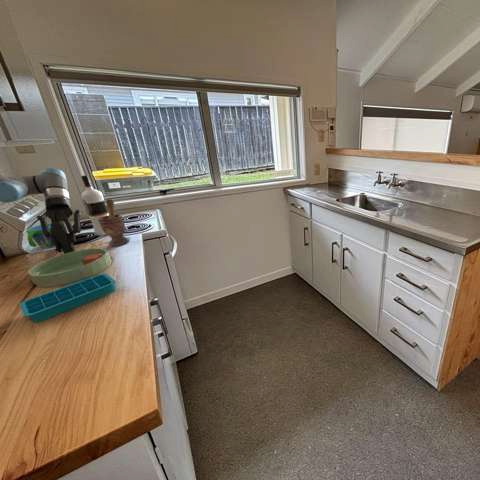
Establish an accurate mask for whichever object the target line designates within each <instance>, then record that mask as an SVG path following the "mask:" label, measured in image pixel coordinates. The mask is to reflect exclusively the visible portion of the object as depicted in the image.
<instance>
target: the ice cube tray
mask: <svg viewBox="0 0 480 480" xmlns="http://www.w3.org/2000/svg"><path fill="white" fill-rule="evenodd" d="M116 282H117V281H116V280H115V279H114V278H112V276H110V275H109V274H108V273H107V272H103V273H98V274H95V275H93V276H90V277H88V278H85V279H82V280H79V281H76V282H73V283H69V284H67V285H64V286H62V287H60V288H56V289H54V290H51V291H48V292H45V293H42V294H39V295H36V296H34V297H31V298H28V299H25V300H23V301H21V302H20V303H19V306H20V309H21V311H22V312H21V313H22V315H23V317H24V318H30V319H31V321H32V322H33V323H39V322H42V321H45V320H48V319H50V318H52V317H54V316H58V315H59V314H62V313H65V312H67V311H69V310H72V309H74V308H77V307H79V306H81V305H84V304H87V303H89V302H92V301H94V300H97V299H100V298H102V297H104V296H106V295H109V294H112V293H114V292H115V286H114V285H115V284H116Z"/></svg>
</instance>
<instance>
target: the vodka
mask: <svg viewBox="0 0 480 480" xmlns="http://www.w3.org/2000/svg"><path fill="white" fill-rule="evenodd" d="M80 178H81V180H82V183H83V185H84V188H85V190H84V191H83V192H82V193H80V198H81V200H82V202H83V203H84V207H85V208H86V211H87V215H88V217H89V219H90V221H91V224H92V227H93V232H94V234H95V236H98V237H103V236H107V235H106V234H105V232H104V231H103V229H102V227H101V225H100V223H99V220H98V219H99V218H101V217H104V216H109V213H108V209H107V205H106V200H105V198H104V195H103V193H102V191H100V190H98V189H95V188H93V186H92V182H91V181H90V178H89V175H81V177H80Z"/></svg>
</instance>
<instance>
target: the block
mask: <svg viewBox="0 0 480 480" xmlns="http://www.w3.org/2000/svg"><path fill="white" fill-rule="evenodd" d="M101 257H102V254H95V255H88V256H87V257H85V258H84V259H83V260H82V262H83V264H84V265H86V264H89V263H91V262H93V261H95V260H97V259H99V258H101Z"/></svg>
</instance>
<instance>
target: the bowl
mask: <svg viewBox="0 0 480 480" xmlns="http://www.w3.org/2000/svg"><path fill="white" fill-rule="evenodd" d="M95 254H102V257H101V258H99V259H97V260H95V261H93V262H91V263H89V264H86V265H84V264H83V262H82V260H83V259H84V258H85V257H87V256H88V255H95ZM110 255H111V254H110V253H109V251H108V249H106V248H104V247H103V248H102V247H94V248H84V249H79V250H76V251H73V252H69V253H65V254H64V253H61V254H59V255H56V256H52V257H49V258H47V259H44V260H42V261H41V262H38V263H37V264H35V265H33V266H31V267H30V268H29V269H28V270H27V275H28V276H29V278H30V280H31V281H32V283H33V285H34V286H36V287H37V288H38V287H39V288H53V287H60V286H66V285H70V284H73V283H76V282H79V281H82V280H85V279H88V278H90V277H93V276H96V275H98V274H100V273H101V272H103V271H105V270H106V269H107V268H109V267H110V266H111V265H112V263H113V261H112V258H111V256H110Z"/></svg>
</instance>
